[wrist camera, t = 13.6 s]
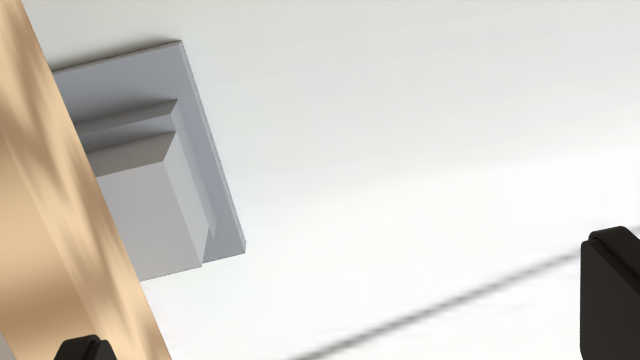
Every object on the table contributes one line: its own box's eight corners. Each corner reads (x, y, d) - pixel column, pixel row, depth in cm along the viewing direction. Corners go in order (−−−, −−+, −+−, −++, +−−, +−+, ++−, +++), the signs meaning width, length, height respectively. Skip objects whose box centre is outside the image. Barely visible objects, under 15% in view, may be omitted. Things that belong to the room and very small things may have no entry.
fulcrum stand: (-17, 88, 33) (-108, 138, 25) (181, 40, 33) (155, 73, 25) (75, 283, 39) (26, 375, 31) (245, 242, 39) (241, 323, 31)
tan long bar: (-74, -5, 23) (-179, 13, 18) (10, -25, 23) (-69, -14, 18) (132, 421, 33) (106, 518, 27) (191, 406, 33) (177, 501, 27)
